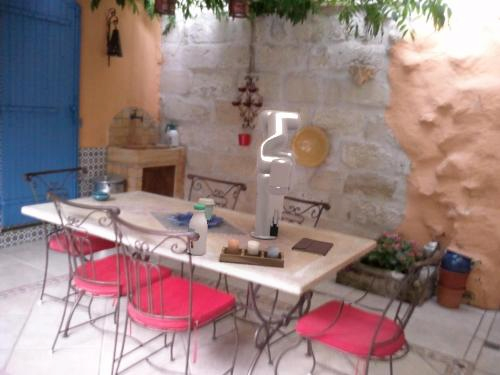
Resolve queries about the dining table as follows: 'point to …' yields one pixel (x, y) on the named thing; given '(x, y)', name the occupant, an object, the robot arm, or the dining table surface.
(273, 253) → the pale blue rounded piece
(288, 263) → the dining table surface
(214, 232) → the dining table surface
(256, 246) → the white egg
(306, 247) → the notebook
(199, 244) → the milk bottle
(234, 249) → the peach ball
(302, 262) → the dining table surface
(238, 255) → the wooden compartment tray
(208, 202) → the coffee cup
